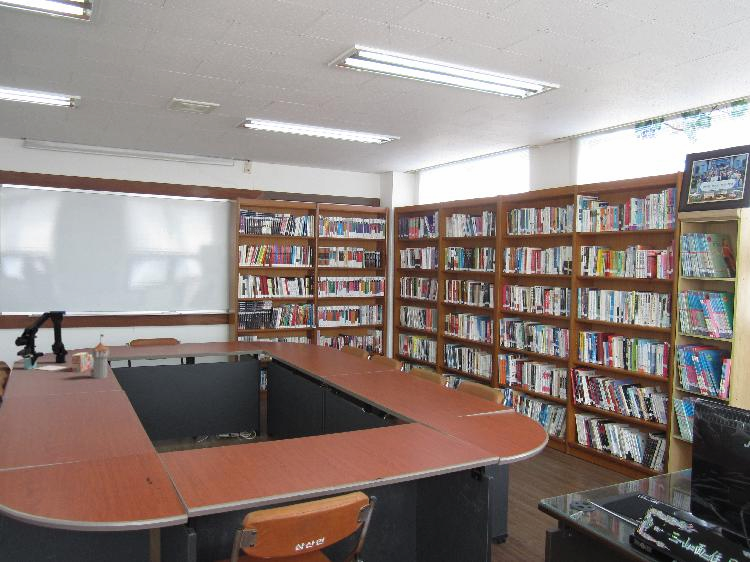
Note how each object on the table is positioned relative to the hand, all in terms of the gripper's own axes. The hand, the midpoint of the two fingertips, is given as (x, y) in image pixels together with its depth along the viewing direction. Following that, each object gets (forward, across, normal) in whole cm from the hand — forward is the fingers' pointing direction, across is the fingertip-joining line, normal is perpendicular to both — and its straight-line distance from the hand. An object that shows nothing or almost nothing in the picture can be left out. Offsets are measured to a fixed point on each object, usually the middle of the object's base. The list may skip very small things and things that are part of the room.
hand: (30, 365), depth 435 cm
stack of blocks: (+2, +36, +11) cm, 38 cm away
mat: (+2, +13, +5) cm, 14 cm away
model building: (+2, +67, -9) cm, 68 cm away
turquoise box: (+2, 0, 0) cm, 2 cm away
